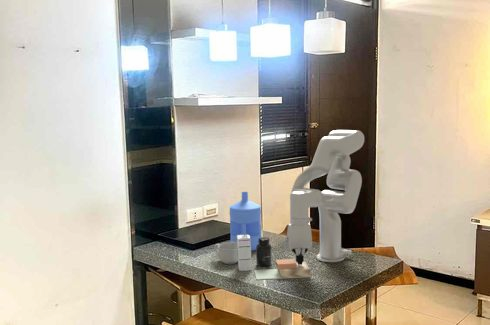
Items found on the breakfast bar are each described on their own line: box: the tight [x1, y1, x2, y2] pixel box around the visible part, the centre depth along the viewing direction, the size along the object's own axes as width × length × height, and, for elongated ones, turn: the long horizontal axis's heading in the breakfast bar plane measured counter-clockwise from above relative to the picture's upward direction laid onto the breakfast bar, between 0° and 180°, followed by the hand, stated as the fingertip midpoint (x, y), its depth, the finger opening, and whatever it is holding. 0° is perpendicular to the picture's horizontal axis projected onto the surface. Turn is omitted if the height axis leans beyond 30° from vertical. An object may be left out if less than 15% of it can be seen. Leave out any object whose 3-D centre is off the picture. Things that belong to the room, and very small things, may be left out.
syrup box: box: [237, 235, 253, 272], centre depth 215 cm, size 6×6×14 cm
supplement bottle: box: [255, 236, 273, 268], centre depth 220 cm, size 7×7×12 cm
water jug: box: [229, 191, 262, 252], centre depth 246 cm, size 16×16×28 cm
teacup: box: [213, 241, 238, 265], centre depth 226 cm, size 14×11×8 cm
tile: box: [274, 258, 297, 269], centre depth 207 cm, size 8×6×2 cm
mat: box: [253, 268, 311, 281], centre depth 208 cm, size 22×11×1 cm, turn 94°
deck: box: [278, 260, 311, 279], centre depth 208 cm, size 12×11×3 cm
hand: (299, 263), depth 208 cm, fingers closed
